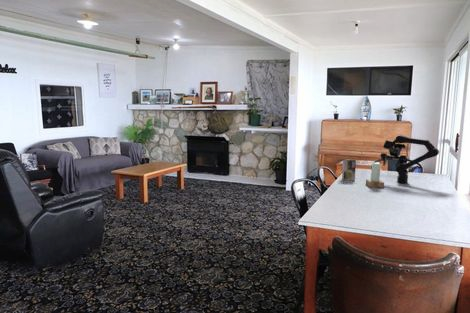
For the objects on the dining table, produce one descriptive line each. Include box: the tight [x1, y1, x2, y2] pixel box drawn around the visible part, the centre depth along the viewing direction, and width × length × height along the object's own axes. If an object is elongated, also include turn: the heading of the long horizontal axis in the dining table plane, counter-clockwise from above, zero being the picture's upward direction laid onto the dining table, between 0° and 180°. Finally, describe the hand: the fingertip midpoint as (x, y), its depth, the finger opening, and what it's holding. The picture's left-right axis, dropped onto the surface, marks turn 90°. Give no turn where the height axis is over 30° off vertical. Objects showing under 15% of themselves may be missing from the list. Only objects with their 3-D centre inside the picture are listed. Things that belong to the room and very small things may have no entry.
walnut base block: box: [365, 178, 385, 189], centre depth 269 cm, size 10×10×4 cm
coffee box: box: [341, 158, 357, 181], centre depth 291 cm, size 9×6×16 cm
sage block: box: [370, 162, 382, 182], centre depth 268 cm, size 4×4×13 cm
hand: (389, 166), depth 277 cm, fingers open, 9 cm apart
